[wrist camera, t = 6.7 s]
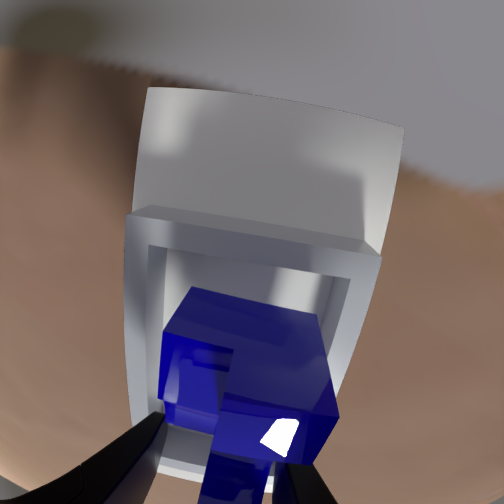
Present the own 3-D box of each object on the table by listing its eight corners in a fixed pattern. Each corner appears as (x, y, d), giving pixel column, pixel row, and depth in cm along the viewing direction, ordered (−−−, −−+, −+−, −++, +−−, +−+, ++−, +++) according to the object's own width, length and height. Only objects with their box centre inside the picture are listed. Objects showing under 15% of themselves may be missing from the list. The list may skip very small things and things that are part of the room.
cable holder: (191, 285, 9) (135, 373, 5) (316, 314, 9) (339, 416, 5) (170, 456, 11) (145, 532, 7) (253, 474, 11) (245, 553, 7)
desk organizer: (398, 129, 10) (430, 122, 8) (287, 486, 16) (287, 519, 13) (154, 90, 10) (123, 74, 8) (144, 461, 16) (132, 491, 13)
